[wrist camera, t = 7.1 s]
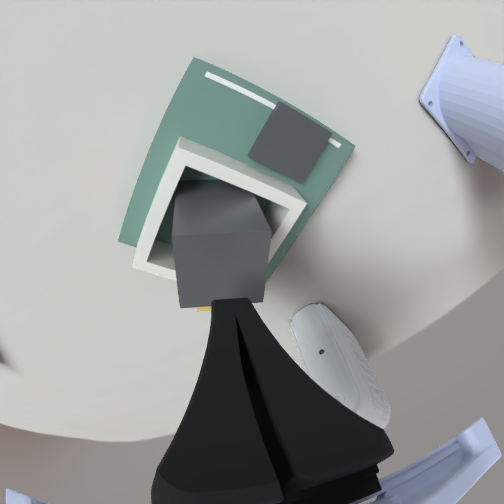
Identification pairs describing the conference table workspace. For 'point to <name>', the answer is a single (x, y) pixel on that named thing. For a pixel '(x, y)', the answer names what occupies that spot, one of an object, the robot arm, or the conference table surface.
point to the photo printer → (338, 363)
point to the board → (231, 162)
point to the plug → (218, 243)
